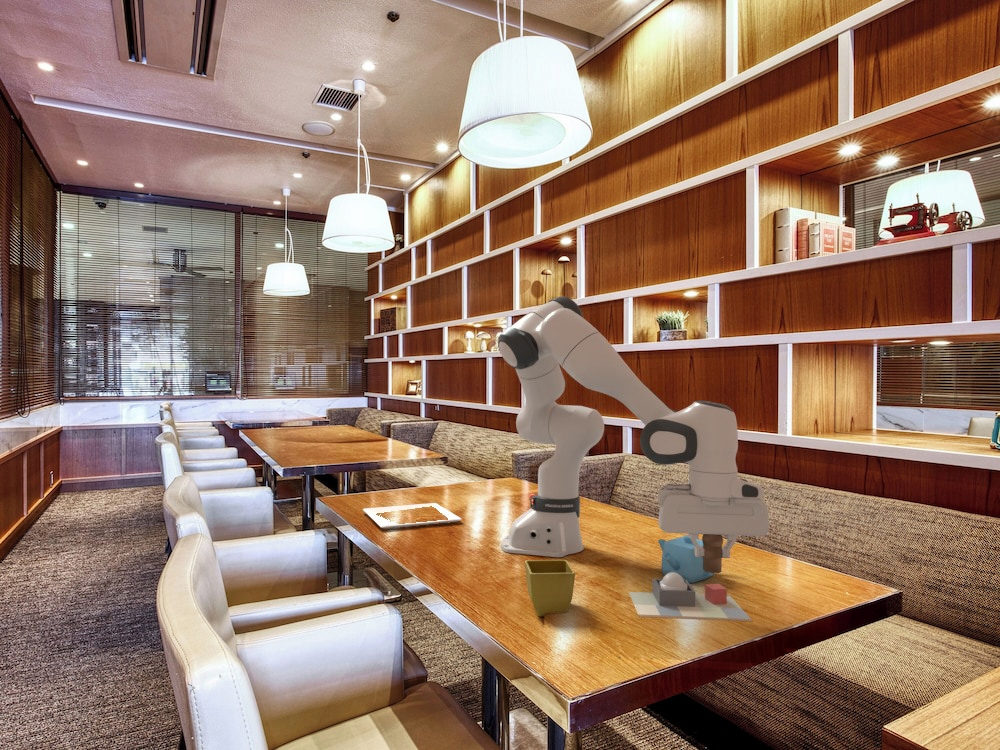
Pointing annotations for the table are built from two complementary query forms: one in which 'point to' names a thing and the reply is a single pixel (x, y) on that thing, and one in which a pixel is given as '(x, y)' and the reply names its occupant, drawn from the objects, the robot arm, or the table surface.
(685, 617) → the board
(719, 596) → the red cube
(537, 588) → the flower pot
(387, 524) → the white frame
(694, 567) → the teapot
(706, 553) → the pawn
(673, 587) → the dome
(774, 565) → the table surface
